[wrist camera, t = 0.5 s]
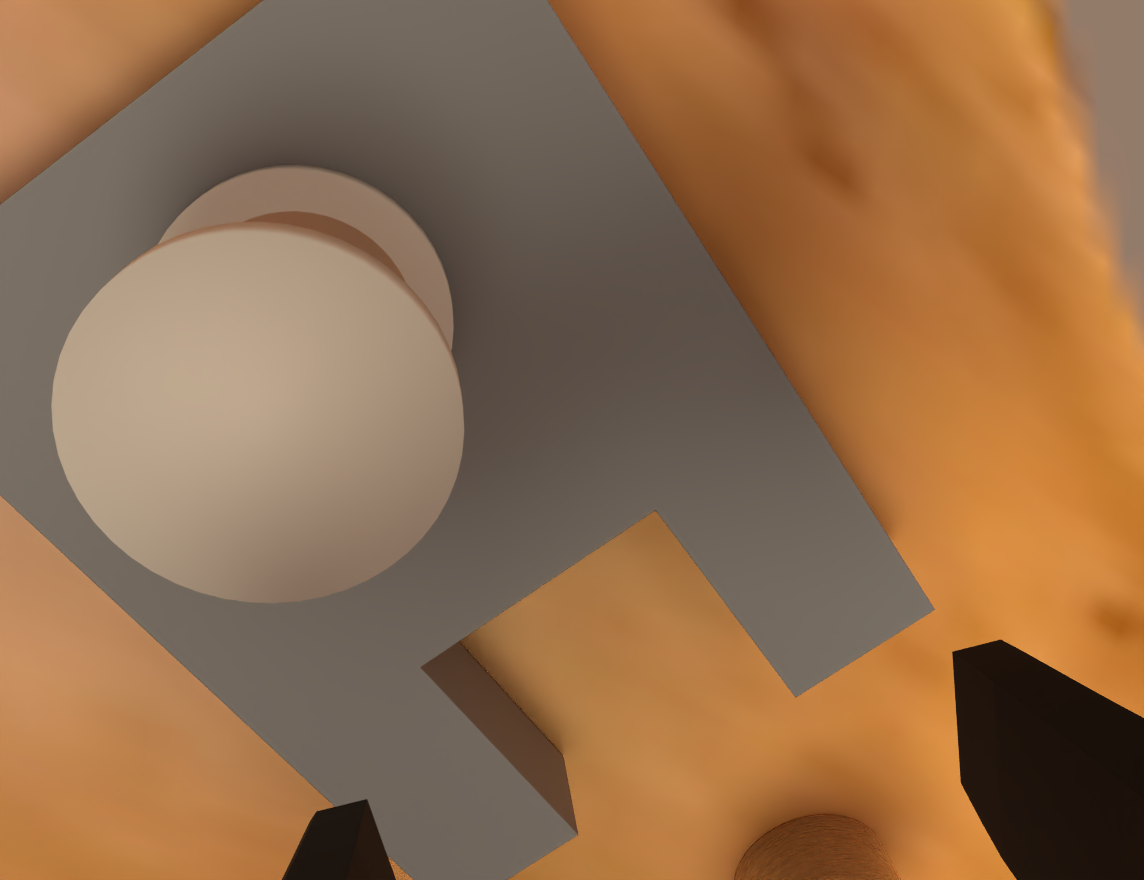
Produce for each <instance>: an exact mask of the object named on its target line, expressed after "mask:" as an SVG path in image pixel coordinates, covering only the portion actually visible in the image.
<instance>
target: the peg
mask: <svg viewBox="0 0 1144 880" xmlns="http://www.w3.org/2000/svg"><path fill="white" fill-rule="evenodd" d="M734 880H901V879H900V877H899V875H898V873H897V871H896V870H895V868H894V866H893V864H892V862H891V860H890V858H889V857H888V855H887V853H886V851H885V849H884V847H883V846H882V844H881V842H880V840H879V838H878V837H877V836H876V834H875V833H874V832H873V831H872V830H871V829H869V828H868V827H867V826H865V825H864V824H862V823H861V822H859V821H856V820H854V819H851V818H848V817H844V816H838V815H825V814H824V815H813V816H807V817H802V818H799V819H795V820H792V821H790V822H787V823H785V824H782V825H780V826H778V827H777V828H775V829H773V830H771V831H770V832H768V833H767V834H765V835H764V836H763V837H762V838H760V839H759V840H758V841H757V842H756V843H755V844H754V845H753V846H752V847H751V848H750V849H749V850H748V852H747V853H746V854H745V855H744V857H743V859H742V860H741V862H740V864H739V866H738V868H737V871H736V874H735V878H734Z"/></svg>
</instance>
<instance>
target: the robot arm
mask: <svg viewBox="0 0 1144 880" xmlns="http://www.w3.org/2000/svg"><path fill="white" fill-rule="evenodd" d="M952 653H953V669H954V684H955V699H956V715H957V730H958V746H959V761H960V777H961V784H962V786H963V788H964V790H965V792H966V793H967V795H968V797H969V799H970V801H971V803H972V805H973V807H974V809H975V810H976V812H977V814H978V816H979V818H980V820H981V822H982V824H983V825H984V827H985V829H986V831H987V833H988V834H989V836H990V838H991V840H992V841H993V843H994V845H995V847H996V849H997V850H998V852H999V854H1000V856H1001V857H1002V859H1003V860H1004V862H1005V863H1006V865H1007V866H1008V868H1009V869H1010V871H1011V872H1012V873H1013V875H1014V876H1015V878H1016V879H1017V880H1144V718H1143V717H1141V716H1139V715H1137V714H1135V713H1133V712H1131V711H1129V710H1128V709H1126V708H1124V707H1122V706H1120V705H1118V704H1116V703H1115V702H1113V701H1111V700H1109V699H1107V698H1105V697H1104V696H1102V695H1100V694H1098V693H1096V692H1095V691H1093V690H1091V689H1089V688H1087V687H1086V686H1084V685H1082V684H1080V683H1078V682H1077V681H1075V680H1073V679H1071V678H1069V677H1068V676H1066V675H1064V674H1062V673H1060V672H1059V671H1057V670H1055V669H1053V668H1052V667H1050V666H1048V665H1046V664H1044V663H1043V662H1041V661H1039V660H1037V659H1036V658H1034V657H1032V656H1030V655H1028V654H1027V653H1025V652H1023V651H1021V650H1019V649H1018V648H1016V647H1014V646H1012V645H1010V644H1008V643H1006V642H1004V641H1002V640H997V641H993V642H989V643H985V644H981V645H977V646H973V647H969V648H965V649H961V650H958V651H954V652H952ZM282 880H396V879H395V876H394V873H393V870H392V867H391V865H390V862H389V859H388V856H387V853H386V851H385V848H384V845H383V842H382V839H381V836H380V834H379V831H378V828H377V825H376V822H375V819H374V817H373V814H372V811H371V808H370V805H369V803H368V800H367V799H365V800H361V801H357V802H353V803H349V804H345V805H341V806H337V807H333V808H329V809H325V810H321V811H317V812H316V813H315V815H314V816H313V818H312V819H311V821H310V822H309V824H308V826H307V829H306V831H305V833H304V835H303V837H302V839H301V841H300V843H299V845H298V847H297V850H296V852H295V854H294V856H293V858H292V860H291V862H290V864H289V866H288V868H287V870H286V872H285V875H284V877H283V879H282Z"/></svg>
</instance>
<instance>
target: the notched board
mask: <svg viewBox="0 0 1144 880" xmlns="http://www.w3.org/2000/svg"><path fill="white" fill-rule="evenodd" d="M0 495H1V496H2V497H3V498H4V499H5V500H6V501H7V502H8V503H9V504H10V505H11V506H12V507H13V508H15V509H16V510H17V511H18V512H19V513H20V514H21V515H22V516H23V517H24V518H25V519H26V520H27V521H29V522H30V523H31V524H32V525H33V526H34V527H35V528H36V529H37V530H38V531H39V532H40V533H41V534H42V535H44V536H45V537H46V538H47V539H48V540H49V541H50V542H51V543H52V544H53V545H54V546H55V547H56V548H58V549H59V550H60V551H61V552H62V553H63V554H64V555H65V556H66V557H67V558H68V559H69V560H70V561H71V562H73V563H74V564H75V565H76V566H77V567H78V568H79V569H80V570H81V571H82V572H83V573H84V574H85V575H87V576H88V577H89V578H90V579H91V580H92V581H93V582H94V583H95V584H96V585H97V586H98V587H99V588H101V589H102V590H103V591H104V592H105V593H106V594H107V595H108V596H109V597H110V598H111V599H112V600H113V601H114V602H116V603H117V604H118V605H119V606H120V607H121V608H122V609H123V610H124V611H125V612H126V613H127V614H128V615H130V616H131V617H132V618H133V619H134V620H135V621H136V622H137V623H138V624H139V625H140V626H141V627H142V628H144V629H145V630H146V631H147V632H148V633H149V634H150V635H151V636H152V637H153V638H154V639H155V640H156V641H157V642H159V643H160V644H161V645H162V646H163V647H164V648H165V649H166V650H167V651H168V652H169V653H170V654H171V655H173V656H174V657H175V658H176V659H177V660H178V661H179V662H180V663H181V664H182V665H183V666H184V667H185V668H186V669H188V670H189V671H190V672H191V673H192V674H193V675H194V676H195V677H196V678H197V679H198V680H199V681H200V682H202V683H203V684H204V685H205V686H206V687H207V688H208V689H209V690H210V691H211V692H212V693H213V694H214V695H216V696H217V697H218V698H219V699H220V700H221V701H222V702H223V703H224V704H225V705H226V706H227V707H228V708H229V709H231V710H232V711H233V712H234V713H235V714H236V715H237V716H238V717H239V718H240V719H241V720H242V721H243V722H245V723H246V724H247V725H248V726H249V727H250V728H251V729H252V730H253V731H254V732H255V733H256V734H257V735H259V736H260V737H261V738H262V739H263V740H264V741H265V742H266V743H267V744H268V745H269V746H270V747H271V748H272V749H274V750H275V751H276V752H277V753H278V754H279V755H280V756H281V757H282V758H283V759H284V760H285V761H286V762H288V763H289V764H290V765H291V766H292V767H293V768H294V769H295V770H296V771H297V772H298V773H299V774H300V775H301V776H303V777H304V778H305V779H306V780H307V781H308V782H309V783H310V784H311V785H312V786H313V787H314V788H315V789H317V790H318V791H319V792H320V793H321V794H322V795H323V796H324V797H325V798H326V799H327V800H328V801H329V802H331V803H332V804H333V805H334V806H335V807H337V806H341V805H345V804H349V803H353V802H357V801H361V800H365V799H367V800H368V803H369V805H370V808H371V811H372V814H373V817H374V819H375V822H376V825H377V828H378V831H379V834H380V836H381V839H382V842H383V845H384V848H385V851H386V853H387V856H389V857H390V858H391V859H392V860H393V861H394V862H395V863H396V864H397V865H398V866H399V867H400V868H401V869H403V870H404V871H405V872H406V873H407V874H408V875H409V876H410V877H411V878H412V879H413V880H507V879H509V878H510V877H512V876H514V875H515V874H517V873H518V872H520V871H522V870H523V869H525V868H526V867H528V866H530V865H531V864H533V863H534V862H536V861H537V860H539V859H541V858H542V857H544V856H545V855H547V854H549V853H550V852H552V851H553V850H555V849H556V848H558V847H560V846H561V845H563V844H564V843H566V842H568V841H569V840H571V839H572V838H574V837H575V836H577V835H578V831H577V826H576V821H575V815H574V810H573V805H572V800H571V794H570V789H569V784H568V778H567V773H566V768H565V762H564V757H563V756H562V755H561V753H560V752H559V751H558V750H557V749H556V748H555V747H554V746H553V745H552V744H551V742H550V741H549V740H548V739H547V738H546V737H545V736H544V735H543V734H542V733H541V731H540V730H539V729H538V728H537V727H536V726H535V725H534V724H533V723H532V722H531V720H530V719H529V718H528V717H527V716H526V715H525V714H524V713H523V712H522V711H521V709H520V708H519V707H518V706H517V705H516V704H515V703H514V702H513V701H512V700H511V698H510V697H509V696H508V695H507V694H506V693H505V692H504V691H503V690H502V689H501V687H500V686H499V685H498V684H497V683H496V682H495V681H494V680H493V679H492V678H491V676H490V675H489V674H488V673H487V672H486V671H485V670H484V669H483V668H482V667H481V665H480V664H479V663H478V662H477V661H476V660H475V659H474V658H473V657H472V656H471V654H470V653H469V652H468V651H467V650H466V649H465V648H464V647H463V646H462V645H461V643H460V642H459V641H460V640H462V639H463V638H465V637H466V636H468V635H469V634H471V633H472V632H474V631H475V630H477V629H478V628H480V627H481V626H483V625H484V624H485V623H487V622H488V621H490V620H491V619H493V618H494V617H496V616H497V615H499V614H500V613H502V612H503V611H505V610H506V609H508V608H509V607H511V606H512V605H514V604H515V603H517V602H518V601H520V600H521V599H523V598H524V597H526V596H527V595H529V594H530V593H532V592H533V591H535V590H536V589H538V588H539V587H541V586H542V585H544V584H545V583H547V582H548V581H550V580H551V579H553V578H554V577H556V576H557V575H559V574H560V573H562V572H563V571H565V570H566V569H568V568H569V567H571V566H572V565H574V564H575V563H577V562H578V561H580V560H581V559H583V558H584V557H586V556H587V555H589V554H590V553H592V552H593V551H595V550H596V549H598V548H599V547H601V546H602V545H604V544H605V543H607V542H608V541H610V540H611V539H613V538H614V537H616V536H617V535H619V534H620V533H622V532H623V531H625V530H626V529H628V528H629V527H631V526H632V525H634V524H635V523H637V522H638V521H640V520H641V519H643V518H644V517H646V516H647V515H649V514H650V513H652V512H653V511H655V510H656V511H657V513H658V514H659V515H660V517H661V518H662V519H663V521H664V522H665V523H666V525H667V526H668V527H669V529H670V530H671V531H672V533H673V534H674V535H675V537H676V538H677V539H678V541H679V542H680V543H681V545H682V546H683V547H684V549H685V550H686V551H687V553H688V554H689V555H690V557H691V558H692V559H693V561H694V562H695V563H696V565H697V566H698V567H699V569H700V570H701V571H702V573H703V574H704V575H705V577H706V578H707V580H708V581H709V582H710V584H711V585H712V586H713V588H714V589H715V590H716V592H717V593H718V594H719V596H720V597H721V598H722V600H723V601H724V602H725V604H726V605H727V606H728V608H729V609H730V610H731V612H732V613H733V614H734V616H735V617H736V618H737V620H738V621H739V622H740V624H741V625H742V626H743V628H744V629H745V630H746V632H747V633H748V634H749V636H750V637H751V638H752V640H753V641H754V642H755V644H756V645H757V646H758V648H759V649H760V650H761V652H762V653H763V655H764V656H765V657H766V659H767V660H768V661H769V663H770V664H771V665H772V667H773V668H774V669H775V671H776V672H777V673H778V675H779V676H780V677H781V679H782V680H783V681H784V683H785V684H786V685H787V687H788V688H789V689H790V691H791V692H792V693H793V695H794V696H795V697H797V696H799V695H801V694H802V693H804V692H805V691H807V690H808V689H810V688H812V687H813V686H815V685H816V684H818V683H820V682H821V681H823V680H824V679H826V678H827V677H829V676H831V675H832V674H834V673H835V672H837V671H839V670H840V669H842V668H843V667H845V666H847V665H848V664H850V663H851V662H853V661H854V660H856V659H858V658H859V657H861V656H862V655H864V654H866V653H867V652H869V651H870V650H872V649H873V648H875V647H877V646H878V645H880V644H881V643H883V642H885V641H886V640H888V639H889V638H891V637H892V636H894V635H896V634H897V633H899V632H900V631H902V630H904V629H905V628H907V627H908V626H910V625H911V624H913V623H915V622H916V621H918V620H919V619H921V618H923V617H924V616H926V615H927V614H929V613H931V612H932V611H934V610H935V609H934V607H933V606H932V604H931V603H930V601H929V599H928V598H927V596H926V595H925V593H924V592H923V590H922V588H921V587H920V585H919V584H918V582H917V581H916V579H915V577H914V576H913V574H912V573H911V571H910V570H909V568H908V566H907V565H906V563H905V562H904V560H903V559H902V557H901V555H900V554H899V552H898V551H897V549H896V548H895V546H894V544H893V543H892V541H891V540H890V538H889V537H888V535H887V533H886V532H885V530H884V529H883V527H882V526H881V524H880V522H879V521H878V519H877V518H876V516H875V515H874V513H873V511H872V510H871V508H870V507H869V505H868V504H867V502H866V500H865V499H864V497H863V496H862V494H861V492H860V491H859V489H858V488H857V486H856V485H855V483H854V481H853V480H852V478H851V477H850V475H849V474H848V472H847V470H846V469H845V467H844V466H843V464H842V463H841V461H840V459H839V458H838V456H837V455H836V453H835V452H834V450H833V448H832V447H831V445H830V444H829V442H828V441H827V439H826V437H825V436H824V434H823V433H822V431H821V430H820V428H819V426H818V425H817V423H816V422H815V420H814V419H813V417H812V415H811V414H810V412H809V411H808V409H807V408H806V406H805V404H804V403H803V401H802V400H801V398H800V397H799V395H798V393H797V392H796V390H795V389H794V387H793V386H792V384H791V382H790V381H789V379H788V378H787V376H786V375H785V373H784V371H783V370H782V368H781V367H780V365H779V364H778V362H777V360H776V359H775V357H774V356H773V354H772V353H771V351H770V349H769V348H768V346H767V345H766V343H765V342H764V340H763V338H762V337H761V335H760V334H759V332H758V331H757V329H756V327H755V326H754V324H753V323H752V321H751V319H750V318H749V316H748V315H747V313H746V312H745V310H744V308H743V307H742V305H741V304H740V302H739V301H738V299H737V297H736V296H735V294H734V293H733V291H732V290H731V288H730V286H729V285H728V283H727V282H726V280H725V279H724V277H723V275H722V274H721V272H720V271H719V269H718V268H717V266H716V264H715V263H714V261H713V260H712V258H711V257H710V255H709V253H708V252H707V250H706V249H705V247H704V246H703V244H702V242H701V241H700V239H699V238H698V236H697V235H696V233H695V231H694V230H693V228H692V227H691V225H690V224H689V222H688V220H687V219H686V217H685V216H684V214H683V213H682V211H681V209H680V208H679V206H678V205H677V203H676V202H675V200H674V198H673V197H672V195H671V194H670V192H669V191H668V189H667V187H666V186H665V184H664V183H663V181H662V180H661V178H660V176H659V175H658V173H657V172H656V170H655V169H654V167H653V165H652V164H651V162H650V161H649V159H648V158H647V156H646V154H645V153H644V151H643V150H642V148H641V146H640V145H639V143H638V142H637V140H636V139H635V137H634V135H633V134H632V132H631V131H630V129H629V128H628V126H627V124H626V123H625V121H624V120H623V118H622V117H621V115H620V113H619V112H618V110H617V109H616V107H615V106H614V104H613V102H612V101H611V99H610V98H609V96H608V95H607V93H606V91H605V90H604V88H603V87H602V85H601V84H600V82H599V80H598V79H597V77H596V76H595V74H594V73H593V71H592V69H591V68H590V66H589V65H588V63H587V62H586V60H585V58H584V57H583V55H582V54H581V52H580V51H579V49H578V47H577V46H576V44H575V43H574V41H573V40H572V38H571V36H570V35H569V33H568V32H567V30H566V29H565V27H564V25H563V24H562V22H561V21H560V19H559V18H558V16H557V14H556V13H555V11H554V10H553V8H552V7H551V5H550V3H549V2H548V0H263V1H262V2H260V3H259V4H258V5H257V6H255V7H254V8H253V9H251V10H250V11H249V12H248V13H246V14H245V15H244V16H242V17H241V18H240V19H239V20H237V21H236V22H235V23H233V24H232V25H231V26H230V27H228V28H227V29H226V30H224V31H223V32H222V33H221V34H219V35H218V36H217V37H215V38H214V39H213V40H212V41H210V42H209V43H208V44H206V45H205V46H204V47H203V48H201V49H200V50H199V51H197V52H196V53H195V54H194V55H192V56H191V57H190V58H188V59H187V60H186V61H185V62H183V63H182V64H181V65H179V66H178V67H177V68H176V69H174V70H173V71H172V72H170V73H169V74H168V75H167V76H165V77H164V78H163V79H161V80H160V81H159V82H157V83H156V84H155V85H154V86H152V87H151V88H150V89H148V90H147V91H146V92H145V93H143V94H142V95H141V96H139V97H138V98H137V99H136V100H134V101H133V102H132V103H130V104H129V105H128V106H127V107H125V108H124V109H123V110H121V111H120V112H119V113H118V114H116V115H115V116H114V117H112V118H111V119H110V120H109V121H107V122H106V123H105V124H103V125H102V126H101V127H100V128H98V129H97V130H96V131H94V132H93V133H92V134H91V135H89V136H88V137H87V138H85V139H84V140H83V141H82V142H80V143H79V144H78V145H76V146H75V147H74V148H73V149H71V150H70V151H69V152H67V153H66V154H65V155H64V156H62V157H61V158H60V159H58V160H57V161H56V162H55V163H53V164H52V165H51V166H49V167H48V168H47V169H46V170H44V171H43V172H42V173H40V174H39V175H38V176H37V177H35V178H34V179H33V180H31V181H30V182H29V183H28V184H26V185H25V186H24V187H22V188H21V189H20V190H19V191H17V192H16V193H15V194H13V195H12V196H11V197H10V198H8V199H7V200H6V201H4V202H3V203H2V204H1V205H0Z"/></svg>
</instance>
